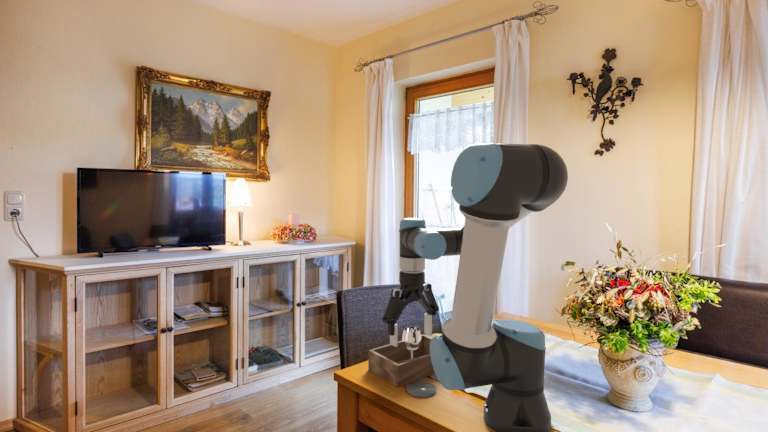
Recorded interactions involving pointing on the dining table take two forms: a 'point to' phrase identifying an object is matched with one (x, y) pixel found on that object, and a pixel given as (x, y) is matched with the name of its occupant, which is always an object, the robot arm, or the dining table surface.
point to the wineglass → (411, 339)
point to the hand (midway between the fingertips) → (411, 340)
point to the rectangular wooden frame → (403, 373)
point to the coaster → (421, 389)
